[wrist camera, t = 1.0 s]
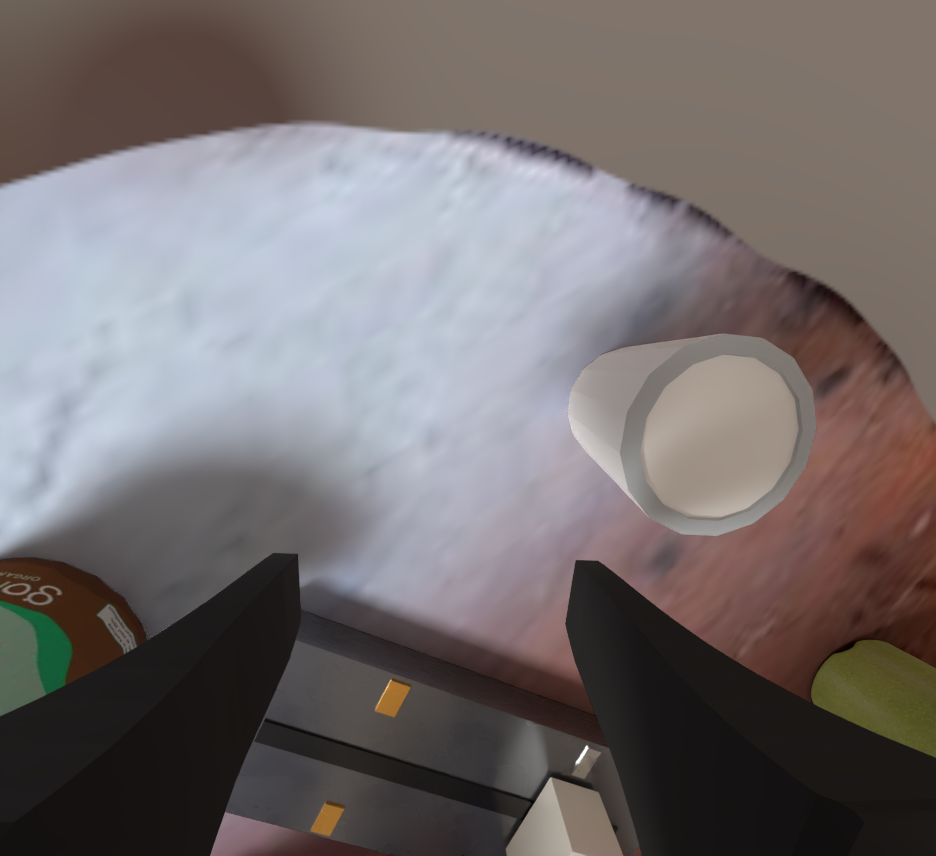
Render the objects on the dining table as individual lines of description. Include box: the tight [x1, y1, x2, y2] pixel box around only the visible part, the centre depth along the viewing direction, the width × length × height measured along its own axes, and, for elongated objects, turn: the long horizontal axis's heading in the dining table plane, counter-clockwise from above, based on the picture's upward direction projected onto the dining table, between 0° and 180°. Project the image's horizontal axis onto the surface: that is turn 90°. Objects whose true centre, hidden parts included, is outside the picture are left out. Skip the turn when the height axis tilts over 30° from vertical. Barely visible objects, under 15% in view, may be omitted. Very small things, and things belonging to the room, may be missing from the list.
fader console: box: [225, 610, 639, 856], centre depth 23 cm, size 10×24×2 cm, turn 63°
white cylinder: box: [568, 333, 817, 536], centre depth 17 cm, size 7×7×7 cm
